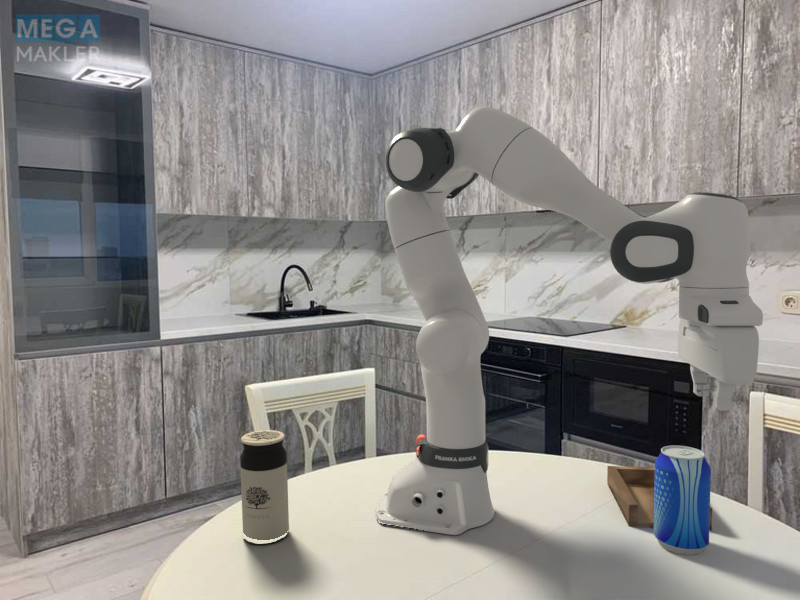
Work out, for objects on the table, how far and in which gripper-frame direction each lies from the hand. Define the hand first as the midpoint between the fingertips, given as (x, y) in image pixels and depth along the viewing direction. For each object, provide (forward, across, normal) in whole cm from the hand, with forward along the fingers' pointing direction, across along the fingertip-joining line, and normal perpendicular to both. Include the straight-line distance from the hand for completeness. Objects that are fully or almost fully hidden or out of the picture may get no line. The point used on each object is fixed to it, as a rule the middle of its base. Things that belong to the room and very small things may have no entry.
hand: (711, 402), depth 86 cm
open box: (+27, -27, 0) cm, 38 cm away
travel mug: (+27, -7, -71) cm, 77 cm away
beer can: (+28, -12, 0) cm, 30 cm away
